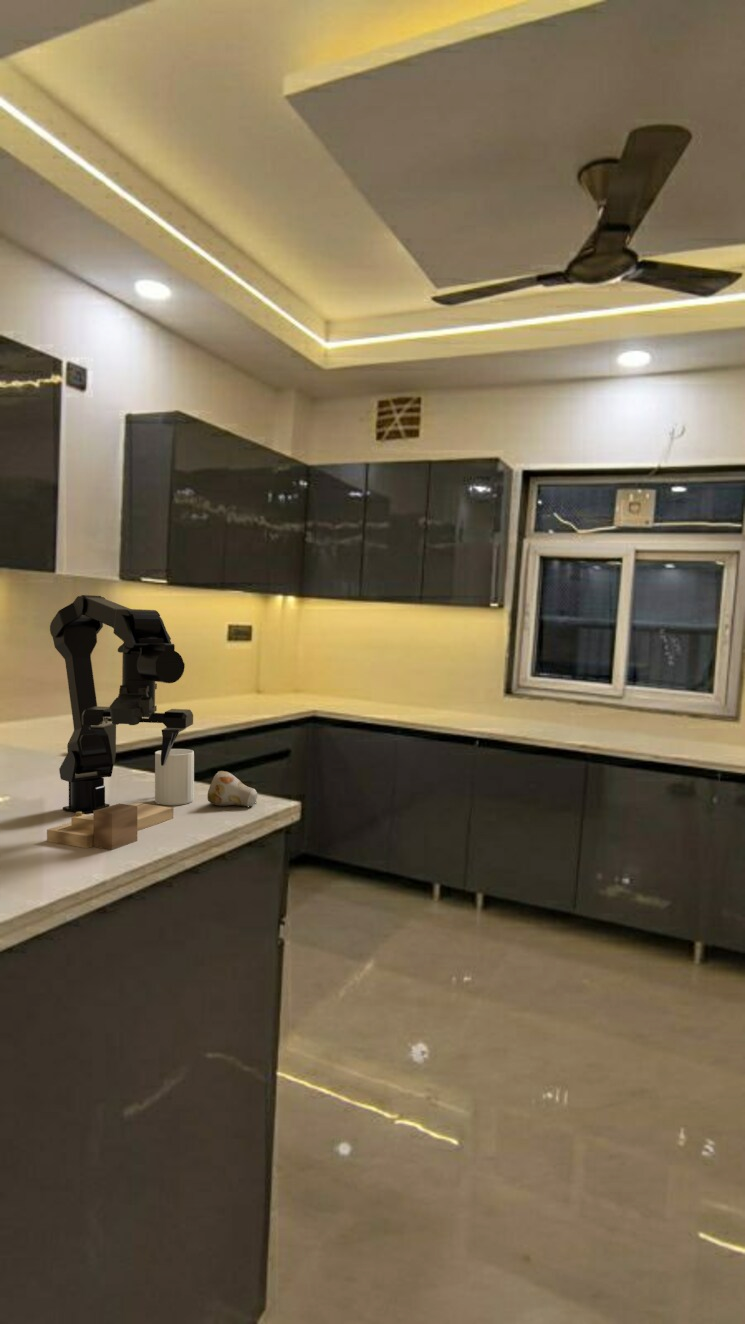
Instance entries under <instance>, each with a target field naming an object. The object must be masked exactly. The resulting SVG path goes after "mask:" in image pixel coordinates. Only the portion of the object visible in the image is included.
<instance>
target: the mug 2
mask: <svg viewBox="0 0 745 1324" xmlns="http://www.w3.org/2000/svg"><path fill="white" fill-rule="evenodd" d="M161 750H162V749H161ZM161 750H157V751H155V752H154V802H155V804H158V805H160V806H161V805H162V806H182V805H186V804H190V803H193V801H194V800H195V798H194V797H195V795H194V794H195V783H194V782H195V752H194V750H193V749H188V748H187V749H186V748H171V750H170V753H169V755H168V758H167V760H166V763H165V765H164V766H161Z"/></svg>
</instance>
